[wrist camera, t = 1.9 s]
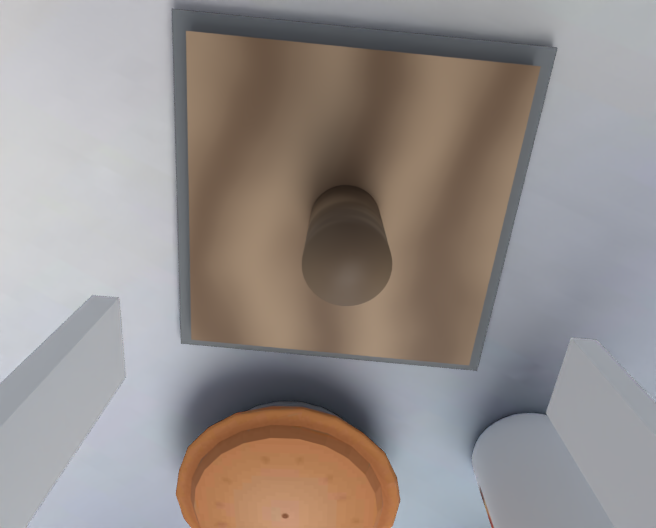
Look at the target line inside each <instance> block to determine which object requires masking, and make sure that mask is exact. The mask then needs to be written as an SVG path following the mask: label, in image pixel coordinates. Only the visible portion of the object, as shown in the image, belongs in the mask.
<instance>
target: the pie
mask: <svg viewBox="0 0 656 528" xmlns="http://www.w3.org/2000/svg"><path fill="white" fill-rule="evenodd" d="M176 496H177V499H178V502H179V505H180V508H181V511H182V514H183V517H184V519H185V520H186V522H187V523H188V524H189V525H190V527H191V528H391V527H392V526H393V523H394V520H395V517H396V513H397V510H398V507H399V503H400V496H399V488H398V481H397V477H396V475H395V472H394V470H393V468H392V466H391V464H390V462H389V460H388V458H387V456H386V454H385V452H384V451H383V450H382V449H380V448H379V447H378V446H377V445H376V444H375V443H374V442H373V441H372V440H371V439H369V438H368V437H367V436H366V435H365V434H364V433H363V432H361V431H360V430H358V429H357V428H355V427H353V426H352V425H350V424H349V423H347V422H346V421H345V420H344V419H342V418H341V417H339V416H337V415H336V414H334V413H332V412H330V411H328V410H327V409H325V408H323V407H319V406H316V405H312V404H308V403H305V402H295V401H277V402H272V403H267V404H263V405H258V406H256V407H254V408H252V409H250V410H248V411H244V412H238V413H235V414H233V415H231V416H229V417H227V418H225V419H223V420H221V421H220V422H218V423H216V424H214V425H212V426H210V427H208V428H207V429H206V430H205V431H204V432H203V433H202V434H201V435H200V436H199V437H198V438H197V439H196V440H195V441H194V442H193V443H192V444H191V445H189V446H188V448H187V451H186V454H185V456H184V459H183V462H182V464H181V467H180V469H179V474H178V482H177V489H176Z"/></svg>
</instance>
